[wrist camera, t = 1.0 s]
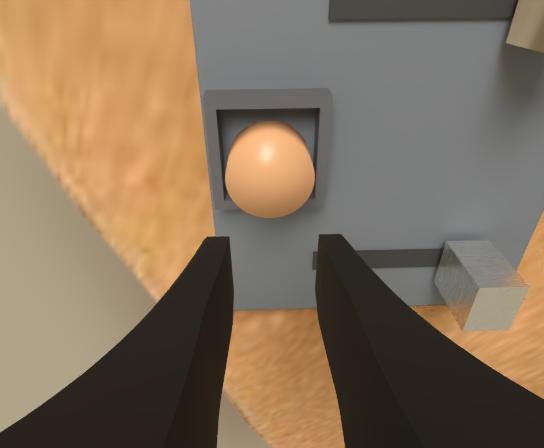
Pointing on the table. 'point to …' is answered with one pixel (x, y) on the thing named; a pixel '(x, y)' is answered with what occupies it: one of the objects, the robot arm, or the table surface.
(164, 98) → the table surface
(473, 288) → the metal slider
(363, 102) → the control board
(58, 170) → the table surface
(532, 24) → the birch slider
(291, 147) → the orange button
